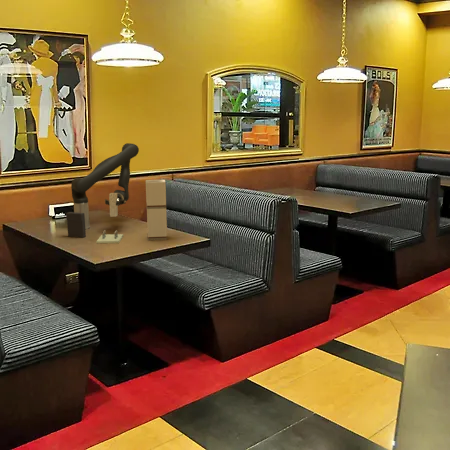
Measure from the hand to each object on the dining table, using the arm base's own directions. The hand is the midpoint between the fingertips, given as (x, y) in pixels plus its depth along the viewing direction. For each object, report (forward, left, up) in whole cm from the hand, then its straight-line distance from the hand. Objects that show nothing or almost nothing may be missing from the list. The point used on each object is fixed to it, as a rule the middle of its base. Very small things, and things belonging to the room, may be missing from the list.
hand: (112, 203), depth 342 cm
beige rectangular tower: (+28, -12, -20) cm, 36 cm away
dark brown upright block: (-22, -6, -20) cm, 30 cm away
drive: (0, +3, -8) cm, 8 cm away
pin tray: (0, -15, -19) cm, 25 cm away
